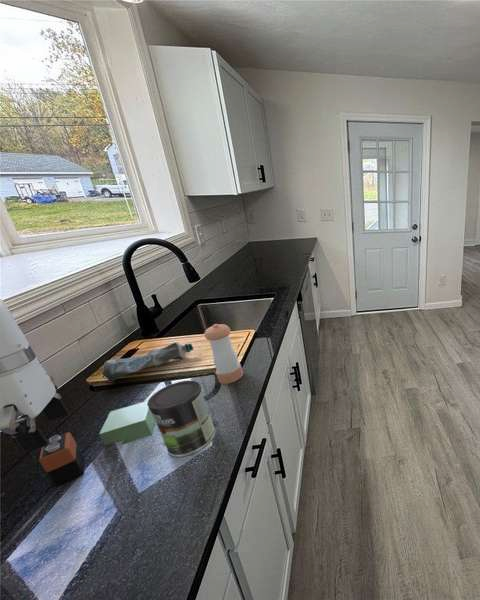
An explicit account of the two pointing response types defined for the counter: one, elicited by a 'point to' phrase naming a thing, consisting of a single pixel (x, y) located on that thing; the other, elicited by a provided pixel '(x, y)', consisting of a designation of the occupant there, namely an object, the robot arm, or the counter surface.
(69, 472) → the battery
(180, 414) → the coffee can
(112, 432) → the block
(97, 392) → the counter surface
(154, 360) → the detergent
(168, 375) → the counter surface
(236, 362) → the pepper shaker
